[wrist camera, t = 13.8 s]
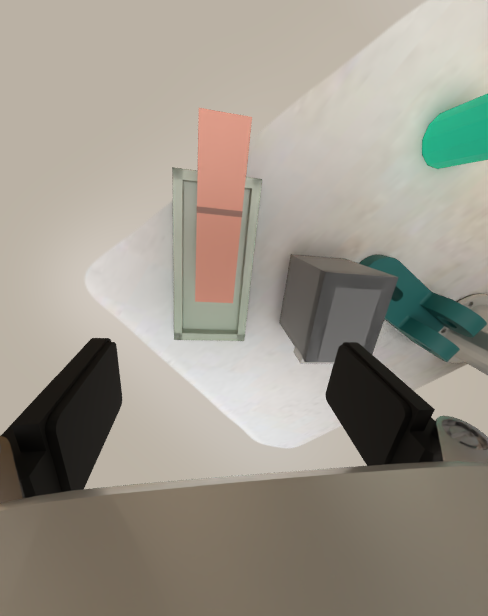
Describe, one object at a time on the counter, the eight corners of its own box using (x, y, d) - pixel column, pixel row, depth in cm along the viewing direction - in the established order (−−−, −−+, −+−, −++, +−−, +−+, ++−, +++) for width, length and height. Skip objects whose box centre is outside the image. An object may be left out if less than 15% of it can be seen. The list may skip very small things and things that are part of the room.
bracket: (442, 309, 39) (496, 332, 31) (411, 340, 40) (456, 368, 33) (373, 244, 33) (420, 254, 25) (340, 284, 34) (376, 303, 27)
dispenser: (327, 328, 37) (367, 368, 27) (278, 327, 35) (303, 368, 26) (344, 258, 33) (398, 277, 23) (291, 254, 31) (325, 272, 22)
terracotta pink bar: (242, 131, 23) (252, 117, 18) (229, 282, 31) (233, 303, 25) (200, 124, 23) (198, 107, 17) (197, 280, 30) (194, 301, 25)
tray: (258, 181, 28) (262, 179, 26) (242, 334, 35) (244, 340, 33) (174, 170, 26) (172, 167, 24) (176, 332, 33) (174, 339, 31)
